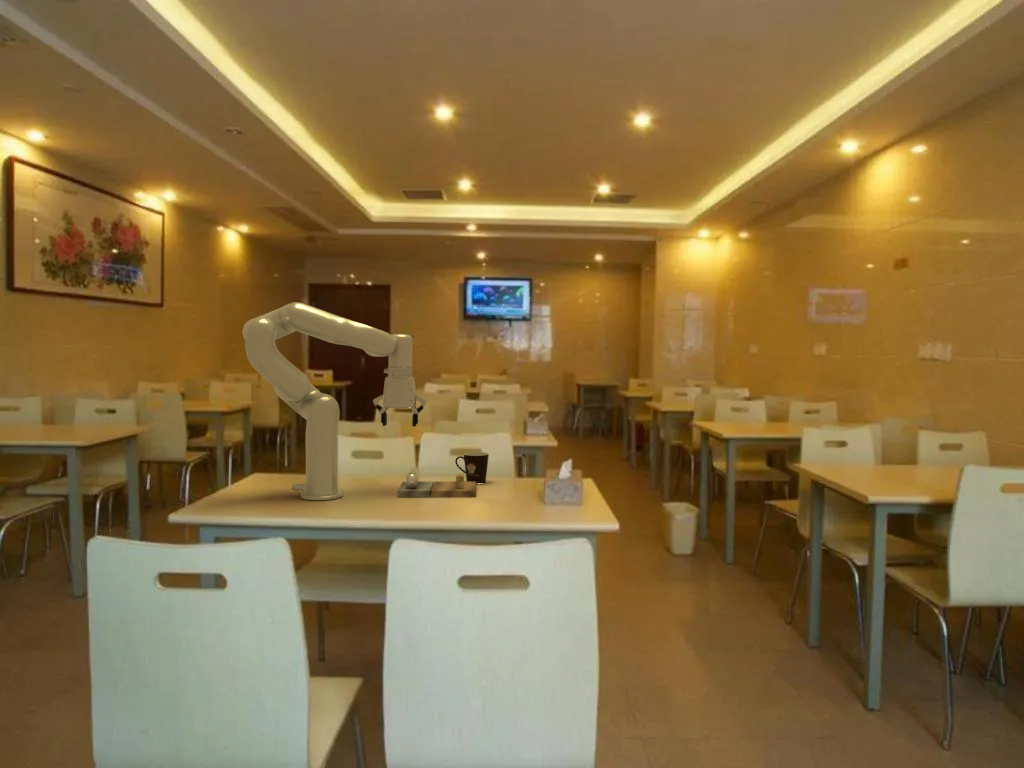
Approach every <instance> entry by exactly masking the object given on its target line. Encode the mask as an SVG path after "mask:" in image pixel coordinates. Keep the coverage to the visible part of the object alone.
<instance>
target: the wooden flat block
mask: <svg viewBox="0 0 1024 768" xmlns="http://www.w3.org/2000/svg"><path fill="white" fill-rule="evenodd" d="M396 497H397V498H476V497H477V485H476V481H467V480H466V481H465V473H464V474H463V473H458V474H457V473H456V475H455V481H418V487H416V488H407V487H406V481H402V483H401V484H400V486H399V487H398V488H397V491H396Z"/></svg>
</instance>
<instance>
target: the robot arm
mask: <svg viewBox="0 0 1024 768" xmlns="http://www.w3.org/2000/svg"><path fill="white" fill-rule="evenodd" d="M294 332H299V333H300V334H301V333H302V334H304V335H308V336H311V337H313V338H316V339H319V340H321V341H325V342H327V343H331V344H334V345H341V346H349V347H352V348H357V349H361V350H363V351H364V352H365V353H366V355H368V356H370V357H373V358H374V357H388V367H387V368H384V369H383V373H384V374H387V376H386V377H385V378H384V385H383V393H382V394H381V395H380V396H377V397H375V398H374V399H372V401H373V405H374V406H375V408H376V410H377V411H378V412H379V413H380V423H381V424H382V426H383V427H385V426H387V425H388V413H387V410H389V409H411V411H412V412H413V414H412V420H411V421H412V422H411V424H412V427H416V426H417V425H418V424H419V414H420V413H421V412H422V411H423V410H424V408H425V406H426V404H427V403H428V400H427V399H425V398H423V397H421V396H419V395H418V394H417V392H416V381H415V377H414V376H413V337H412V336H411V335H410V334H399V333H397V334H396V333H395V334H390V333H389V332H387V331H384V330H382V329H378V328H376V327H373V326H370V325H367V324H364V323H360V322H357V321H354V320H351V319H348V318H346V317H342V316H339V315H336V314H333V313H331V312H328V311H325V310H322V309H320V308H318V307H314V306H311V305H309V304H307V303H302V302H298V301H297V302H294V301H293V302H290V303H287V304H285V305H283V306H282V307H279V308H277V309H274V310H272V311H269V312H267V313H264V314H262V315H260V316H257V317H254V318H251V319H249V320H248V321H247V322H245V324H244V325H243V328H242V337H243V340H244V348H245V353H246V357H247V360H248V362H249V364H250V366H252V368H253V369H254V370H255V371H256V372H257V373H258V374H259V375H260V376H261V377H262V378H264V380H266V381H267V382H268V383H269V384H270V385H271V386H273V390H274V393H275V394H276V395H277V396H278V397H279V398H280V400H282V401H283V402H284V403H285V404H287V405H288V406H289V407H290V408H292V410H294V412H296V413H297V414H298V415H300V416H301V417H302V418H303V419H305V420H306V426H305V427H306V428H305V482H302V483H292V484H291V490H292V491H301V493H300V498H301V499H303V500H308V501H328V500H335V499H339V498H342V497H343V496H344V491H343V490H341V489H339V425H340V406H339V403H338V401H337V399H336V398H334V397H333V396H331V395H330V394H327V393H323V392H321V391H319V389H317V388H316V387H315V386H314V385H313V384H312V383H311V381H310V379H309V377H308V375H307V374H305V373H304V372H303V371H302V370H300V369H299V368H298V367H297V366H295V365H294V364H293V363H292V362H290V361H289V360H288V359H287V358H286V356H284V355H283V354H282V353H281V352H280V350H278V348H277V344H276V340H279V339H281V338H283V337H285V336H288V335H290V334H292V333H294ZM380 401H382V405H383V406H381V404H380ZM417 401H418V402H420V405H419V406H418V407H417V406H416V405H417Z"/></svg>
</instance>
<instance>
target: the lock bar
mask: <svg viewBox="0 0 1024 768" xmlns="http://www.w3.org/2000/svg"><path fill="white" fill-rule="evenodd" d="M405 482H406V487H407V488H416V487H418V482H420V467H411V468H410V470H409V471H408V473H406V474H405Z"/></svg>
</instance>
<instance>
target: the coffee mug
mask: <svg viewBox="0 0 1024 768" xmlns="http://www.w3.org/2000/svg"><path fill="white" fill-rule="evenodd" d="M489 455H490V454H489V453H487V452H483V451H476V452H475V451H473V452H472V451H471V452H465V453H463V456H461V455H460V456H457V457H456V459H455V460H454V461H455V465H456V467H457V468H458V469H459V470H460V471H461V472H462V473H464V475H465V477H466V478H465V479H466V481H476V484H477V483H485V484H486V480H487V472H488V464H489ZM459 459H462V460H463V462H464V469H465V470H464V469H463V468H462V467H461V466H460V465H459V464H458V460H459Z"/></svg>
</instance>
